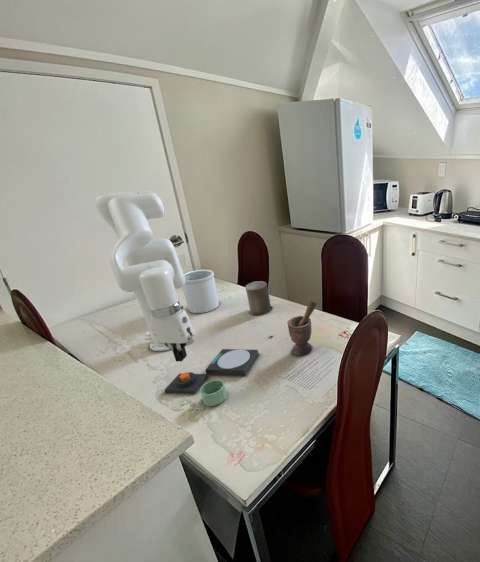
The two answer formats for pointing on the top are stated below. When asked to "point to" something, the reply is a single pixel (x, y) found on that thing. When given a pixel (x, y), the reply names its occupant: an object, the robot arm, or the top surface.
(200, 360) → the top surface
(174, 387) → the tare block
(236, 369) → the scale
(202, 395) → the bowl
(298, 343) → the mortar and pestle
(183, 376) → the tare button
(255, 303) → the pillar candle
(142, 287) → the robot arm
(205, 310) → the utensil holder
